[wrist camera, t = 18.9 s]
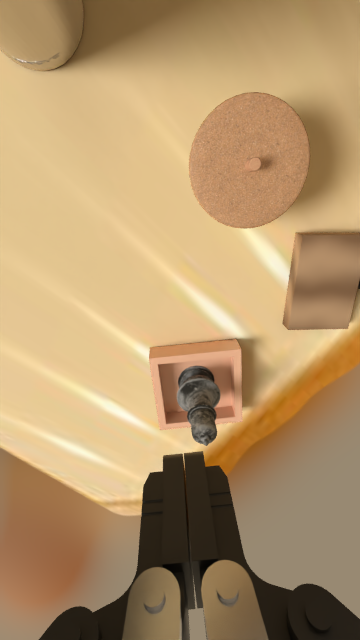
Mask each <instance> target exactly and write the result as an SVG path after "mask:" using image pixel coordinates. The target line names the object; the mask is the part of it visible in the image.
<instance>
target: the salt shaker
mask: <svg viewBox="0 0 360 640" xmlns="http://www.w3.org/2000/svg"><path fill="white" fill-rule="evenodd" d="M214 381H215V380H214V375H213V374H212V372H211V371H210V370H209V369H207V368H206V367H203V366H191V367H189V368H186V369H185V370H184V371H182V373H181V374H180V376H179V378H178V385H179V390H178V392H177V401H178V404H179V406H180V407H181V408H182V409H183V410H184V411H186V412H188V413H187V419H188V422H189V423H190V424H191V430H192V436H193V438H194V440H195V441H196V442H198V443H200V444H204V445H206V446H207V445H208V444H209V443H211V442H212V441H213V440H214V439H215V438H216V436H217V429H216V425H215V420H216V416H217V414H216V411H215V409H214V408H215V407H216V406H217V404H218V403H219V401H220V396H221V394H220V390H219V388H218V386H217V385H216V384H215V383H214Z"/></svg>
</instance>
